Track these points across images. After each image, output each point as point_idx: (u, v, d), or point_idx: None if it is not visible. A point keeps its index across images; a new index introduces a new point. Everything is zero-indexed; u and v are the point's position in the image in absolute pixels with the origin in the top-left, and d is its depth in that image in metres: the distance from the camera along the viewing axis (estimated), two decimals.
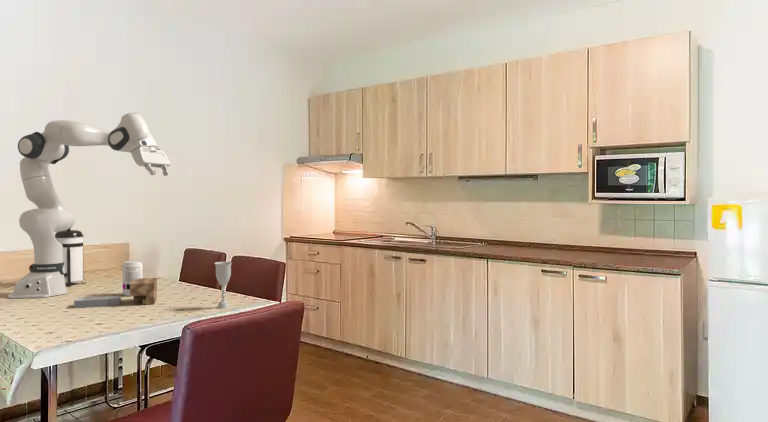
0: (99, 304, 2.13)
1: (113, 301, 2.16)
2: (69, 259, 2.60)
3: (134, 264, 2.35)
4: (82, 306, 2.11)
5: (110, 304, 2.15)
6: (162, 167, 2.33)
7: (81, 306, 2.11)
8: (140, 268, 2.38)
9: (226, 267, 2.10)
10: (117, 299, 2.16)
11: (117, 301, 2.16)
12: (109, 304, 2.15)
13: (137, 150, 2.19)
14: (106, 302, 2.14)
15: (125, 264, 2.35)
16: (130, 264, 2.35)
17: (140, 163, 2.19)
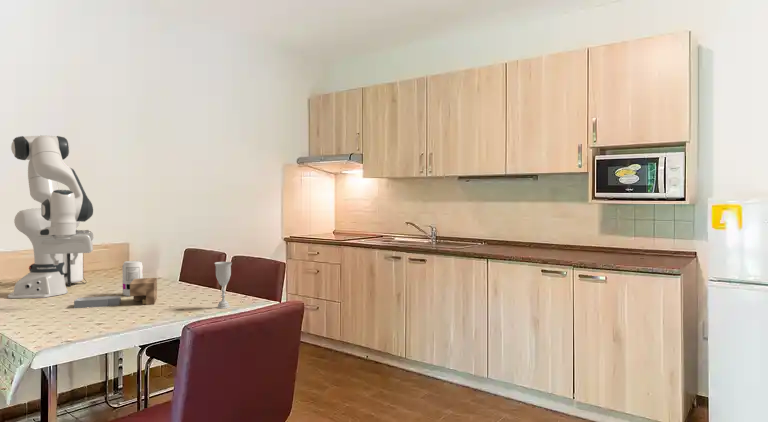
0: (99, 304, 2.13)
1: (113, 301, 2.16)
2: (69, 259, 2.60)
3: (134, 264, 2.35)
4: (82, 306, 2.11)
5: (110, 304, 2.15)
6: None
7: (81, 306, 2.11)
8: (140, 268, 2.38)
9: (226, 267, 2.10)
10: (117, 299, 2.16)
11: (117, 301, 2.16)
12: (109, 304, 2.15)
13: None
14: (106, 302, 2.14)
15: (125, 264, 2.35)
16: (130, 264, 2.35)
17: None
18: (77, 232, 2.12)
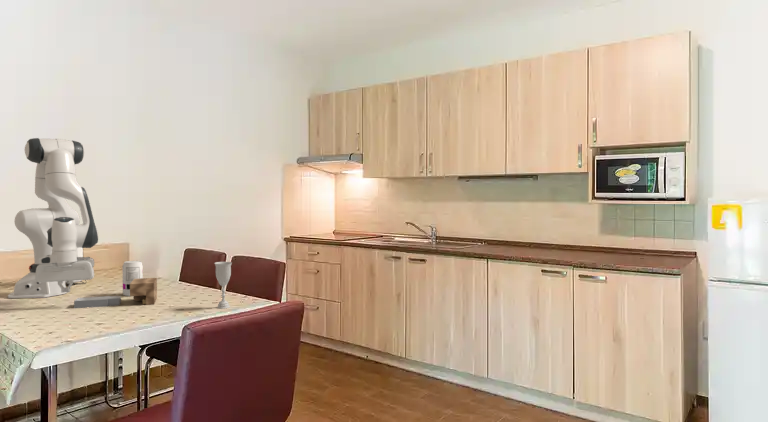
0: (99, 304, 2.13)
1: (113, 301, 2.16)
2: None
3: (134, 264, 2.35)
4: (82, 306, 2.11)
5: (110, 304, 2.15)
6: None
7: (81, 306, 2.11)
8: (140, 268, 2.38)
9: (226, 267, 2.10)
10: (117, 299, 2.16)
11: (117, 301, 2.16)
12: (109, 304, 2.15)
13: (37, 267, 2.07)
14: (106, 302, 2.14)
15: (125, 264, 2.35)
16: (130, 264, 2.35)
17: None
18: (78, 259, 2.13)
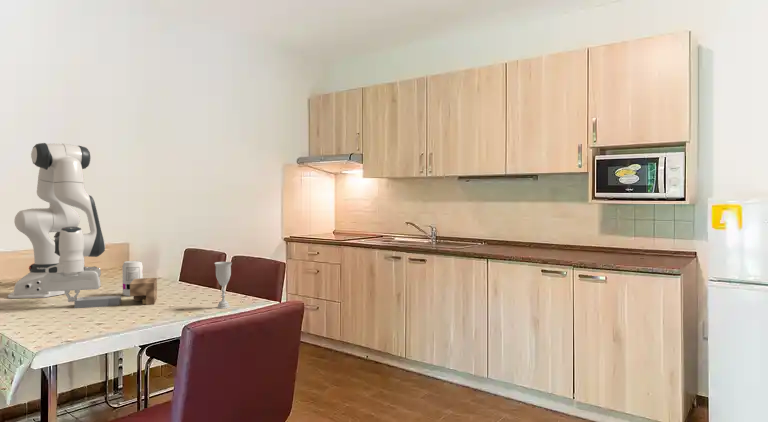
0: (100, 304, 2.13)
1: (114, 301, 2.16)
2: None
3: (134, 264, 2.35)
4: (82, 305, 2.11)
5: (110, 304, 2.15)
6: None
7: (81, 306, 2.11)
8: (140, 268, 2.38)
9: (226, 267, 2.10)
10: (117, 299, 2.16)
11: (117, 301, 2.16)
12: (109, 304, 2.15)
13: (44, 277, 2.08)
14: (107, 302, 2.14)
15: (125, 264, 2.35)
16: (130, 264, 2.35)
17: None
18: (85, 269, 2.13)
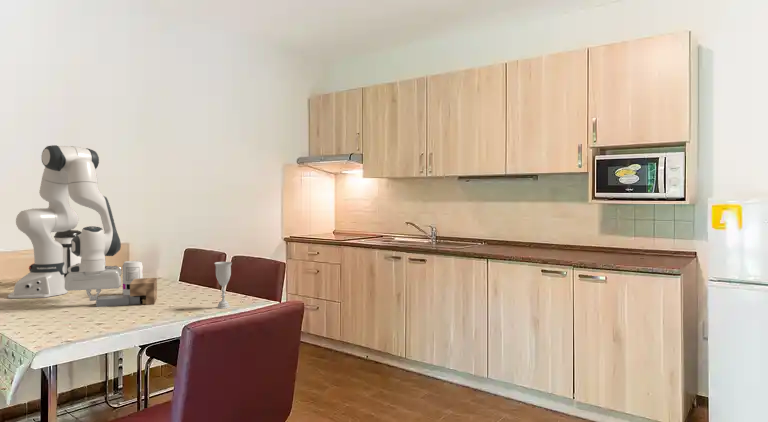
0: (121, 303, 2.15)
1: (134, 300, 2.18)
2: (69, 259, 2.60)
3: (134, 264, 2.35)
4: (104, 304, 2.14)
5: (131, 303, 2.18)
6: None
7: (103, 304, 2.13)
8: (140, 268, 2.38)
9: (226, 267, 2.10)
10: (138, 298, 2.18)
11: (138, 300, 2.18)
12: (130, 303, 2.18)
13: (66, 276, 2.11)
14: (127, 300, 2.16)
15: (125, 264, 2.35)
16: (130, 264, 2.35)
17: None
18: (106, 268, 2.16)
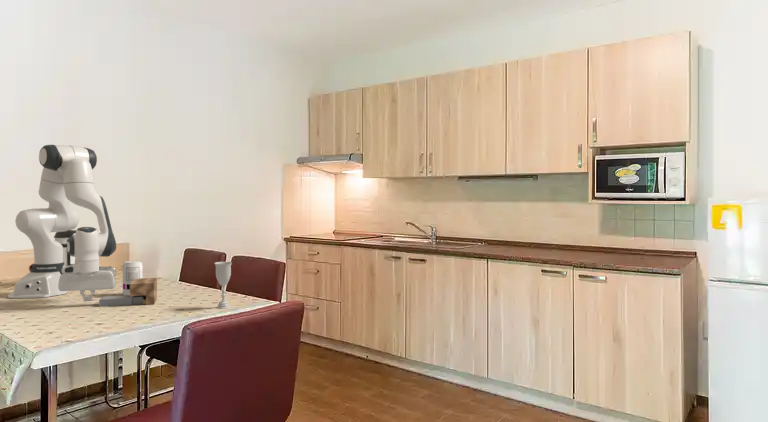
0: (124, 303, 2.16)
1: (137, 300, 2.18)
2: (69, 259, 2.60)
3: (134, 264, 2.35)
4: (107, 304, 2.14)
5: (134, 303, 2.18)
6: None
7: (106, 305, 2.14)
8: (140, 268, 2.38)
9: (226, 267, 2.10)
10: (141, 298, 2.19)
11: (141, 300, 2.19)
12: (133, 303, 2.18)
13: (60, 276, 2.10)
14: (130, 301, 2.17)
15: (125, 264, 2.35)
16: (130, 264, 2.35)
17: None
18: (100, 269, 2.16)
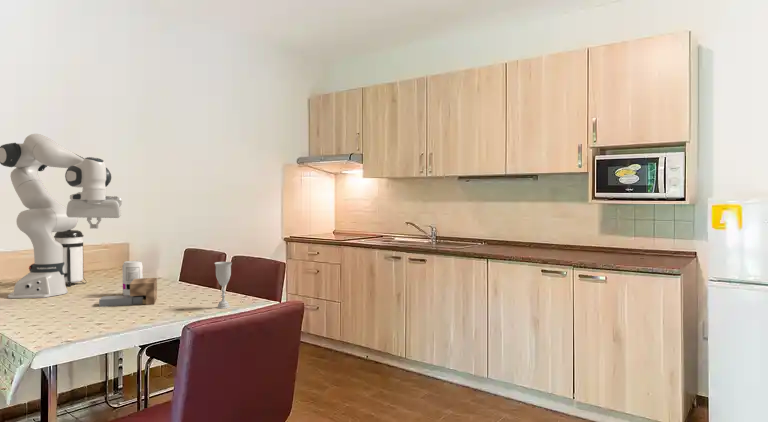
0: (124, 303, 2.16)
1: (137, 300, 2.18)
2: (69, 259, 2.60)
3: (134, 264, 2.35)
4: (107, 304, 2.14)
5: (134, 303, 2.18)
6: None
7: (106, 305, 2.14)
8: (140, 268, 2.38)
9: (226, 267, 2.10)
10: (141, 298, 2.19)
11: (141, 300, 2.19)
12: (133, 303, 2.18)
13: (68, 203, 2.19)
14: (130, 301, 2.17)
15: (125, 264, 2.35)
16: (130, 264, 2.35)
17: None
18: (107, 198, 2.24)
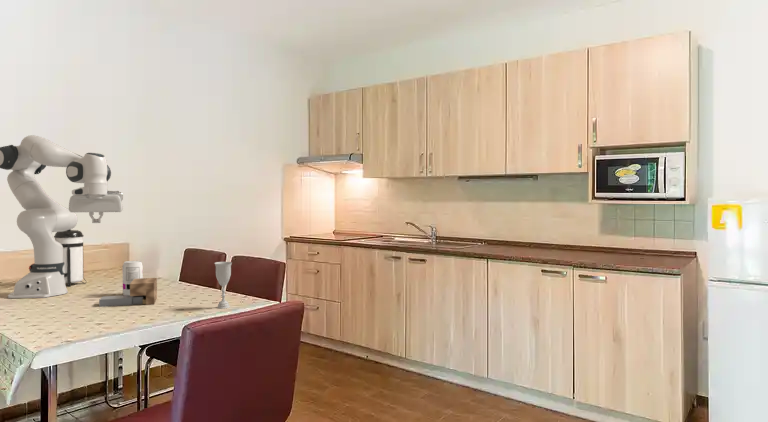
0: (124, 303, 2.16)
1: (137, 300, 2.18)
2: (69, 259, 2.60)
3: (134, 264, 2.35)
4: (107, 304, 2.14)
5: (134, 303, 2.18)
6: None
7: (106, 305, 2.14)
8: (140, 268, 2.38)
9: (226, 267, 2.10)
10: (141, 298, 2.19)
11: (141, 300, 2.19)
12: (133, 303, 2.18)
13: (70, 198, 2.21)
14: (130, 301, 2.17)
15: (125, 264, 2.35)
16: (130, 264, 2.35)
17: None
18: (108, 192, 2.27)
